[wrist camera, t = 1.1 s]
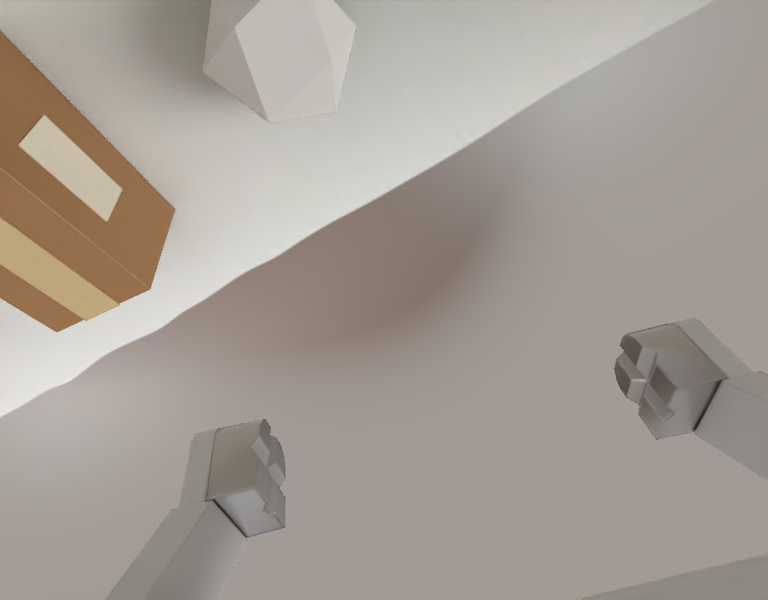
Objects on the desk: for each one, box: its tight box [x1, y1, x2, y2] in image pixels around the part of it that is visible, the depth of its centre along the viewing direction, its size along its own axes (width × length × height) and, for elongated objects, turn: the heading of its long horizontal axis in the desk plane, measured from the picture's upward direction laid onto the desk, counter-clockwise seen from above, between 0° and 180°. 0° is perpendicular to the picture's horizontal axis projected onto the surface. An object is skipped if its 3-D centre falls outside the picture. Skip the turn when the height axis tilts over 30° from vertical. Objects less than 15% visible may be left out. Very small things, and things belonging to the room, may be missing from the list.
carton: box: [0, 32, 175, 332], centre depth 32 cm, size 9×16×10 cm, turn 24°
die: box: [202, 0, 356, 123], centre depth 29 cm, size 8×9×10 cm
